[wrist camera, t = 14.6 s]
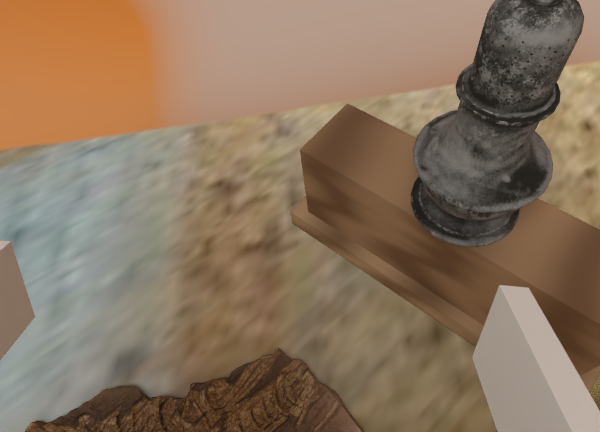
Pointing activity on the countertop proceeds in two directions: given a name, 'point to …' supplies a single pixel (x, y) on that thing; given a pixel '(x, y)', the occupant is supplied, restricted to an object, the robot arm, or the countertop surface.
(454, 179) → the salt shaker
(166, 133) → the countertop surface
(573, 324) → the ridge
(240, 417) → the wooden fragment
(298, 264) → the countertop surface
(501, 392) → the robot arm
